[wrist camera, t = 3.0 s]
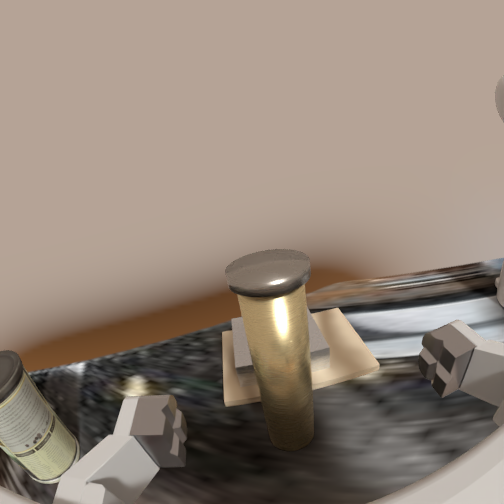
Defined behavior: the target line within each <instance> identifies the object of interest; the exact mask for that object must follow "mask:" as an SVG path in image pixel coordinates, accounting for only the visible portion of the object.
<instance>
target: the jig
mask: <svg viewBox="0 0 504 504" xmlns="http://www.w3.org/2000/svg"><path fill="white" fill-rule="evenodd" d="M307 316H308V329H309V342H310V356H311V372H315V371H319V370H323V369H327V368H330V347H329V345H328V344H327V342H326V340H325V338H324V336H323V335H322V333H321V331H320V329H319V327H318V326H317V324H316V322H315V320H314V319H313V317H312V315H311V313H310V311H309V310H308V308H307ZM232 332H233V345H234V357H235V368H236V372H237V375H238V379H239V383H240V386H241V387H245V386H251V385H256V384H257V381H256V377H255V373H254V368H253V364H252V359H251V355H250V350H249V346H248V341H247V337H246V332H245V328H244V323H243V318H242V317H240V318H234V319H232Z"/></svg>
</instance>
